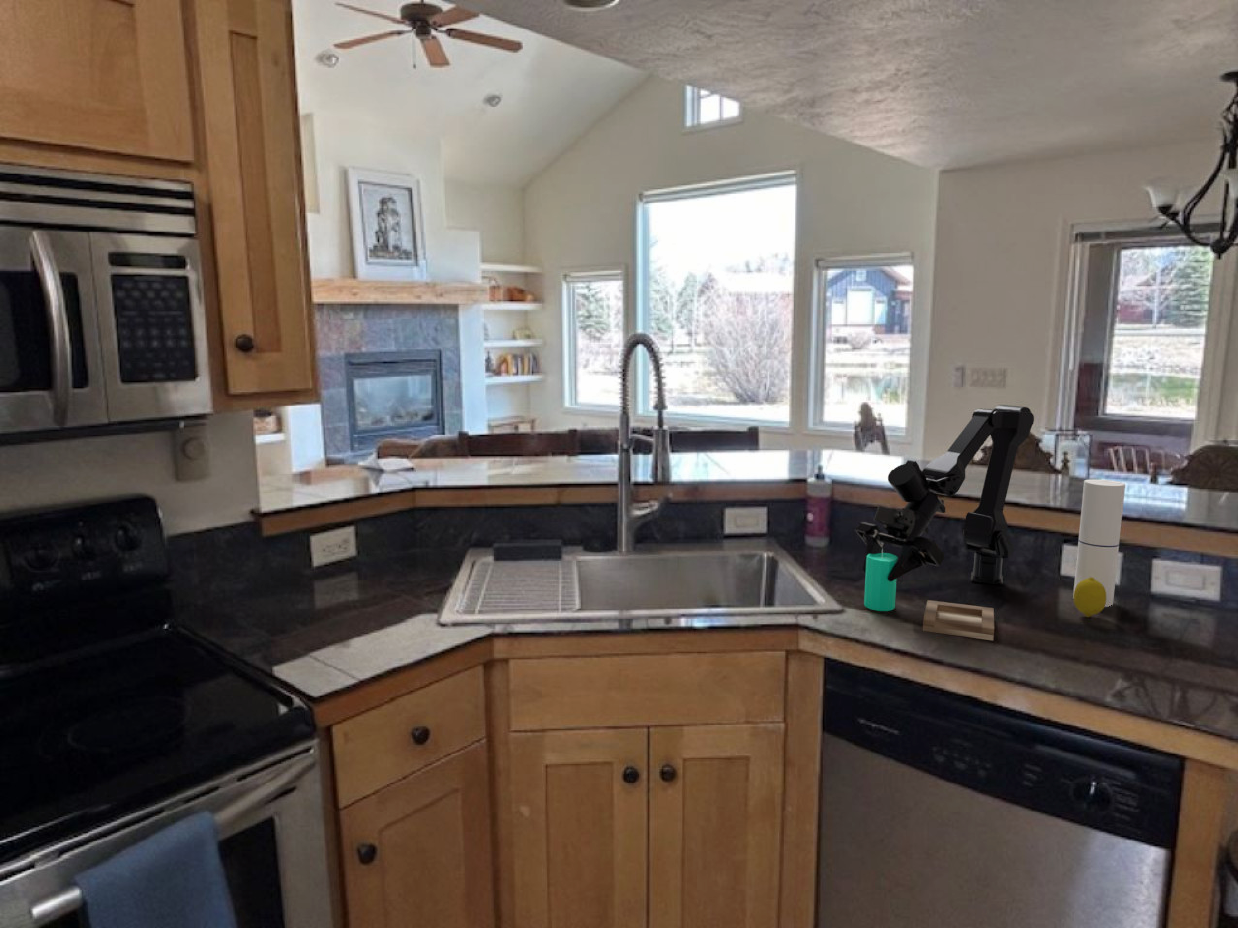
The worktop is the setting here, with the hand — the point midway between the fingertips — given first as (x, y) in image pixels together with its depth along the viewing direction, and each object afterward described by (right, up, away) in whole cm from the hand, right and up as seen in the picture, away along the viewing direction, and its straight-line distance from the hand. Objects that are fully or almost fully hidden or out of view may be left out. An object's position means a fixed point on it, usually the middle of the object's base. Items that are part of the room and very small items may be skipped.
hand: (876, 575), depth 162 cm
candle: (+1, -7, +2) cm, 7 cm away
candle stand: (+13, -8, -9) cm, 18 cm away
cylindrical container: (+46, -6, +5) cm, 47 cm away
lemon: (+40, -8, -5) cm, 41 cm away
